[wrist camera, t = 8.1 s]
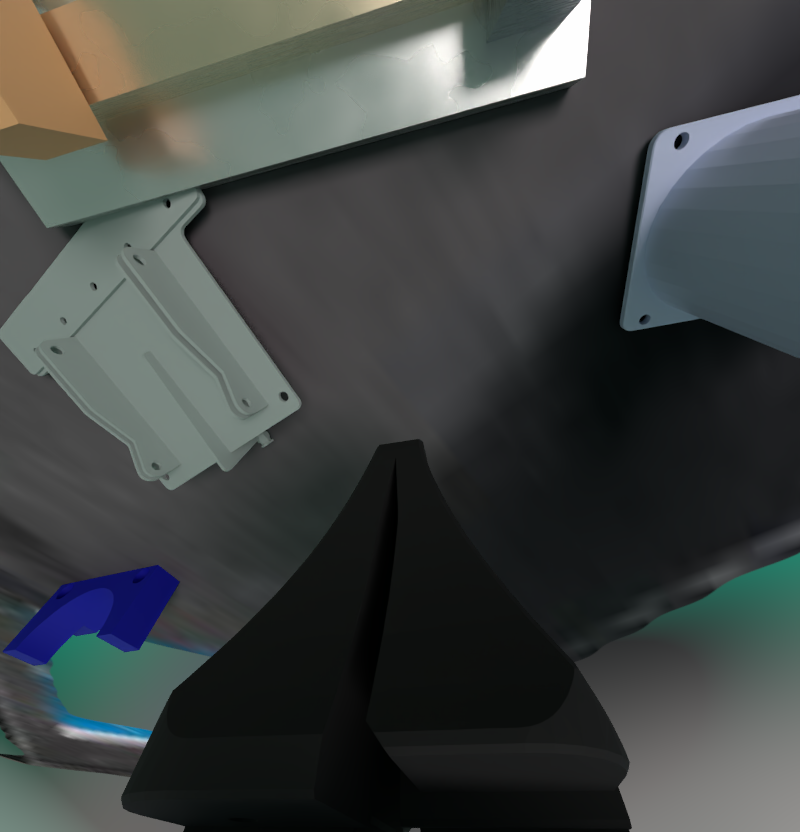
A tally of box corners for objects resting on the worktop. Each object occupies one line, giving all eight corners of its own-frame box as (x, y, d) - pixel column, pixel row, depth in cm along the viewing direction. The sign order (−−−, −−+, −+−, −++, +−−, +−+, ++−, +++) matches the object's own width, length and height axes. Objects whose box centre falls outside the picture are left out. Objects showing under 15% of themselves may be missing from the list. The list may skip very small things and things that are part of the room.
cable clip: (99, 605, 35) (48, 672, 30) (64, 583, 33) (2, 651, 28) (190, 587, 33) (151, 657, 28) (159, 562, 31) (110, 633, 26)
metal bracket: (328, 413, 14) (133, 533, 19) (366, 381, 19) (206, 481, 24) (88, 70, 11) (-68, 314, 16) (210, 144, 17) (65, 310, 21)
